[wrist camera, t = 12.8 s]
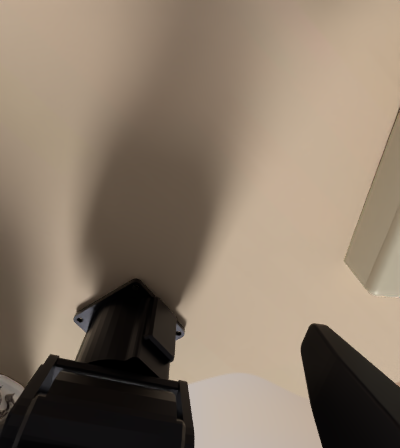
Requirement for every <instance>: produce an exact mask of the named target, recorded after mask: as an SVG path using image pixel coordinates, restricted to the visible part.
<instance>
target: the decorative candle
mask: <svg viewBox="0 0 400 448" xmlns="http://www.w3.org/2000/svg"><path fill="white" fill-rule="evenodd" d="M24 389H25V388H24V387H23V386H22V385H21V384H19V383H17V382H16V381H14V380H12V379H11V378H9V377H7V376H5V375H2V374H0V421H1V420H2V418H3V417H4V416H5V415H6V414H7V413H8V412H9V411H10V410H11V408H12V407H13V405H14V404H15V402H16V401H17V399H18V398H19V396H20V395H21V393H22V392H23V390H24Z"/></svg>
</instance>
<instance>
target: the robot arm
mask: <svg viewBox="0 0 400 448" xmlns="http://www.w3.org/2000/svg"><path fill="white" fill-rule="evenodd" d="M133 285H138V286H139V287H135V286H133ZM80 318H82V319H80ZM74 322H75V323H76V324H77V325H78V326H79V327H80V328H81V329H83V330H84V331H85V332H86V335H85V337H84V340H83V342H82V344H81V347H80V349H79V352H78V354H77V357H76V359H75V361H73V360H68V359H63V358H59V356H57V355H52V354H50V355H49V357H48V358H47V360H46V361H45V363H44V364H43V365H42V364H41V365H40V367H39V368H38V370H37V371H36V373H35V374H34V376H33V377H32V379H31V380H30V382H29V383H28V385H27V386H26V388H25V389H24V390H23V392H22V393H21V395H20V396H19V398H18V399H17V401H16V402H15V404H14V405H13V407H12V408H11V410H10V411H9V412H8V413H7V414H6V415H5V416H4V417H3V418H2V420H1V421H0V448H194V427H193V420H192V413H191V406H190V399H189V392H188V385H187V382H186V381H181V380H179V381H173V380H168V379H169V366H170V362H172V361H173V360H174V355H175V341H176V340H178V339H180V338H182V337H183V336H184V333H185V329H184V327H183V326H182V325H181V324H180V323H179V322H178V321H177V317H176V316H175V315H174V314H173V313H172V312H171V311H170V309H169V308H168V307H167V306H166V305H165V304H164V303H163V302H162V301H161V300H160V298H158V297H156V296H155V295H154V294H153V293H152V292H151V291H150V290H149V289H148V288H147V287H146V285H145V284H144V283H143V282H142V281H141V280H139V279H133V280H131V281H129V282H128V283H126V284H124V285H123V286H121V287H119V288H118V289H116V290H114V291H113V292H111V293H109V294H108V295H106V296H104V297H103V298H101V299H99V300H97V301H96V302H94V303H92V304H91V305H89V306H87V307H86V308H84V309H82V310H81V311H79V312H77V313H76V315H75V317H74ZM176 331H180V332H176ZM301 356H302V361H303V367H304V372H305V378H306V383H307V389H308V394H309V399H310V404H311V408H312V412H313V416H314V419H315V423H316V426H317V430H318V433H319V437H320V440H321V443H322V447H323V448H400V387H399V386H398V385H396V384H395V383H394V382H393V381H392V380H390V379H389V378H388V377H387V376H386V375H385V374H383V373H382V372H381V371H380V370H379V369H378V368H376V367H375V366H374V365H373V364H372V363H370V362H369V361H368V360H367V359H366V358H365V357H363V356H362V355H361V354H360V353H359V352H358V351H356V350H355V349H354V348H353V347H352V346H350V345H349V344H348V343H347V342H346V341H345V340H343V339H342V338H341V337H340V336H339V335H337V334H336V333H335V332H334V331H333V330H332V329H330V328H329V327H328V326H326V325H323V324H315V323H313V324H311V325H310V326H309V328H308V330H307V333H306V335H305V337H304V339H303V342H302V344H301Z"/></svg>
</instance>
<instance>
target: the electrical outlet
mask: <svg viewBox="0 0 400 448" xmlns="http://www.w3.org/2000/svg"><path fill="white" fill-rule="evenodd" d="M399 111H400V110H399ZM344 262H345V264H346V265H347V266H348V267H349V269H350V270H351V271H352V273H353V274H354V275H355V276H356V278H357V279H358V280H359V281H360V283H361V284H362V285H363V287H364V288H365V289H366V290H367V291H368V293H369V294H371V295H373V296H379V297H391V298H400V112H399V113H398V116H397V119H396V121H395V124H394V127H393V129H392V132H391V135H390V137H389V140H388V143H387V145H386V148H385V151H384V153H383V156H382V159H381V162H380V164H379V167H378V170H377V172H376V175H375V178H374V180H373V183H372V186H371V188H370V191H369V194H368V196H367V199H366V202H365V205H364V207H363V210H362V213H361V215H360V218H359V221H358V223H357V226H356V229H355V231H354V234H353V237H352V239H351V242H350V245H349V248H348V250H347V253H346V256H345V259H344Z"/></svg>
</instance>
